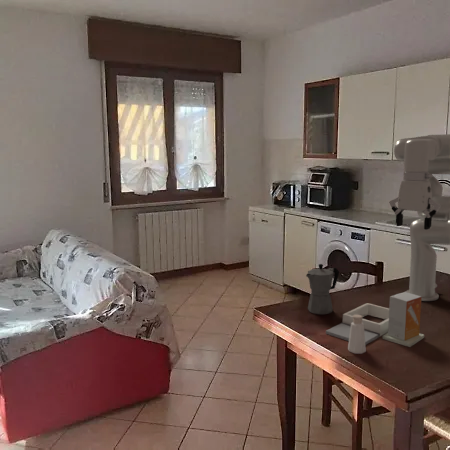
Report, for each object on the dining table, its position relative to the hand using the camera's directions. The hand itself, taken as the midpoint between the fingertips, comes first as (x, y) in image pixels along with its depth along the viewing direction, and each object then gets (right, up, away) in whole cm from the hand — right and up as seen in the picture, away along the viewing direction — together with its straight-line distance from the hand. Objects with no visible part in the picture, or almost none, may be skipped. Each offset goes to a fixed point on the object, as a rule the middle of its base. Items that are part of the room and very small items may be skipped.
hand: (413, 227), depth 162 cm
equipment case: (-16, -34, -1) cm, 38 cm away
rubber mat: (-7, -36, -9) cm, 37 cm away
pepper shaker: (-24, -38, -17) cm, 48 cm away
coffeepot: (-27, -32, +18) cm, 45 cm away
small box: (-7, -35, -9) cm, 37 cm away
